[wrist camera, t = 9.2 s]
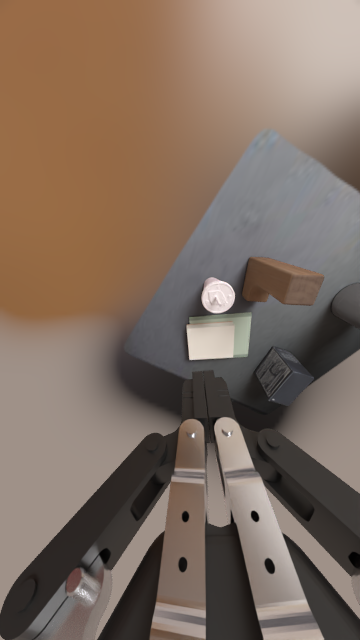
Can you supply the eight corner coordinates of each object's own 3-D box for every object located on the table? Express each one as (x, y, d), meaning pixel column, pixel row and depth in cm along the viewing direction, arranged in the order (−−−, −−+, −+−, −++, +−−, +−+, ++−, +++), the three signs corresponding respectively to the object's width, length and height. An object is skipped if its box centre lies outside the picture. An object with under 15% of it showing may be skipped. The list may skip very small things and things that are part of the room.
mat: (251, 312, 46) (251, 312, 45) (247, 356, 52) (247, 356, 51) (189, 316, 47) (189, 317, 46) (192, 359, 53) (192, 360, 52)
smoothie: (209, 266, 41) (220, 281, 28) (230, 281, 42) (250, 302, 30) (192, 288, 43) (196, 311, 31) (213, 302, 45) (225, 330, 32)
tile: (186, 324, 47) (232, 321, 47) (189, 354, 52) (231, 352, 51) (186, 328, 45) (234, 325, 44) (189, 360, 50) (233, 357, 49)
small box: (271, 377, 55) (289, 407, 46) (253, 372, 55) (267, 401, 45) (292, 352, 51) (316, 379, 41) (272, 345, 50) (292, 371, 41)
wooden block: (259, 296, 44) (303, 333, 28) (241, 295, 44) (274, 332, 28) (269, 257, 40) (327, 275, 24) (249, 256, 40) (293, 273, 24)
